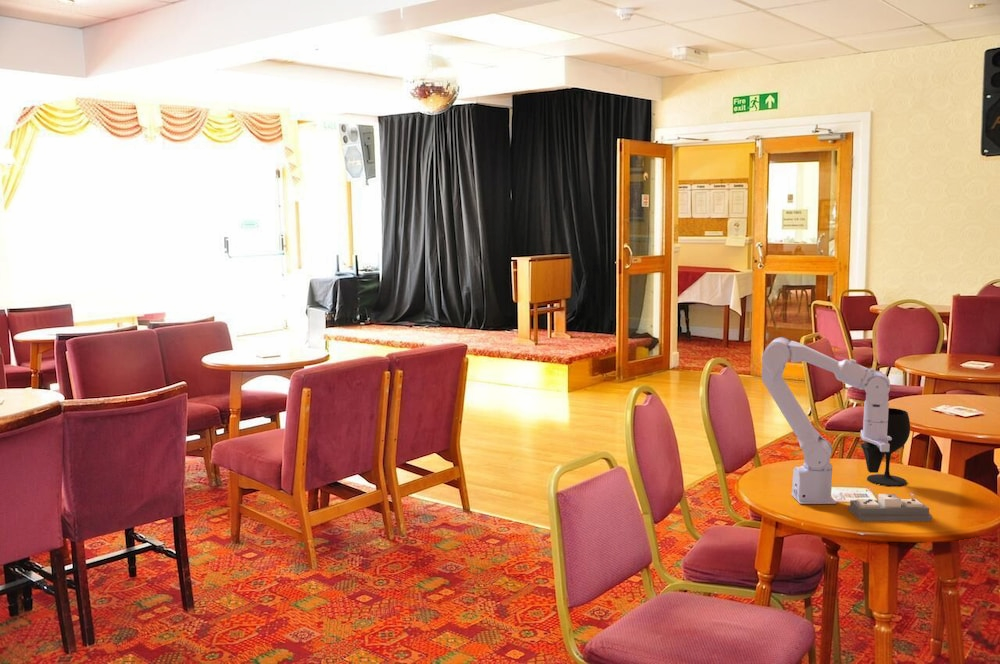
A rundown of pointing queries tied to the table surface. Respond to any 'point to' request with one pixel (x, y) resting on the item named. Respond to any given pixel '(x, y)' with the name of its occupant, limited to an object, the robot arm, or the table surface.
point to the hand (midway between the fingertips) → (872, 471)
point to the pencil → (918, 500)
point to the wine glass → (894, 445)
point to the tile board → (889, 513)
